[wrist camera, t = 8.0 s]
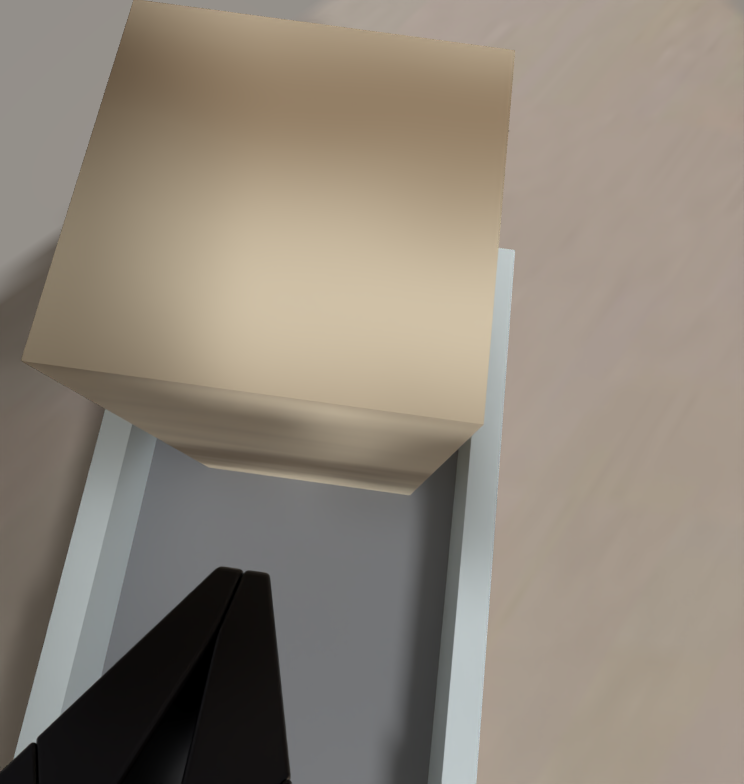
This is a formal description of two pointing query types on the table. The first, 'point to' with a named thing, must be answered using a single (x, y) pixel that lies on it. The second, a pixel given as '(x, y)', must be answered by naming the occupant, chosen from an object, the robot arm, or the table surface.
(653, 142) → the table surface
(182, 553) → the channel
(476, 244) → the beech block
